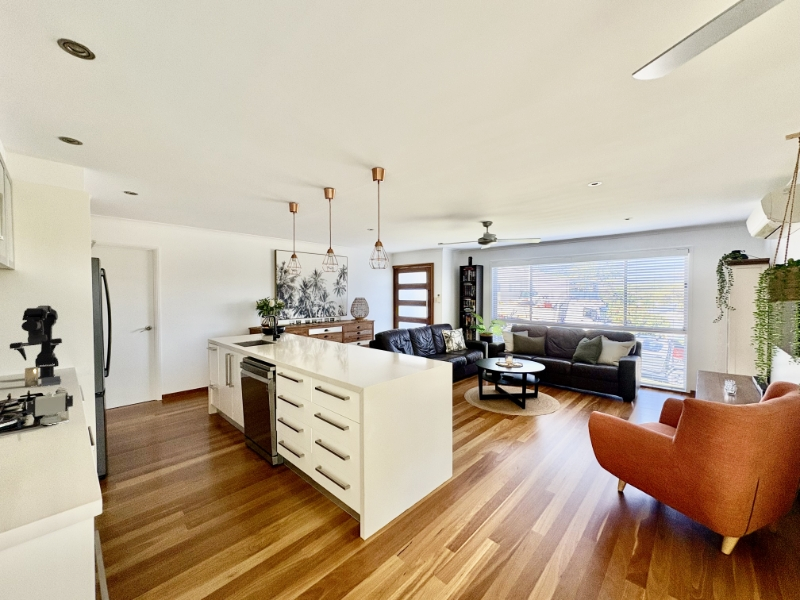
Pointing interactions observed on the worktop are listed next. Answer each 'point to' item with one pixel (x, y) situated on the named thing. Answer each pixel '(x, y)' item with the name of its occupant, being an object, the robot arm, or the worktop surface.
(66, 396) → the pneumatic valve
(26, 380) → the ball
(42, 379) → the press bed
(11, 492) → the worktop surface
